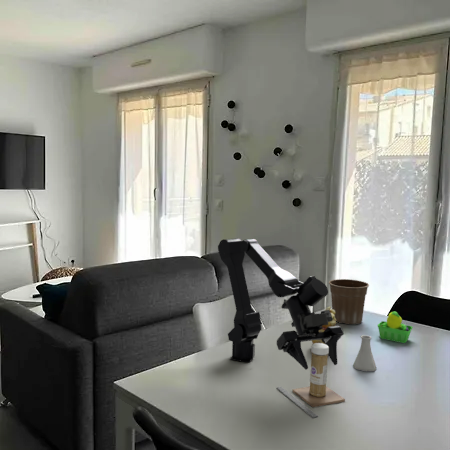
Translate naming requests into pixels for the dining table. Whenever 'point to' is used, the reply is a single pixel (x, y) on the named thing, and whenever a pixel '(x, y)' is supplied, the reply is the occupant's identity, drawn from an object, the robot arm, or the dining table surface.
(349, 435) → the dining table surface
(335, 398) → the board
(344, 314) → the plant pot
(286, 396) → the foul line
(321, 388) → the sprinkles bottle
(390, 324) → the fruit basket
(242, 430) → the dining table surface
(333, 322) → the decorative figurine
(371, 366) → the flask
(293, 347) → the robot arm
